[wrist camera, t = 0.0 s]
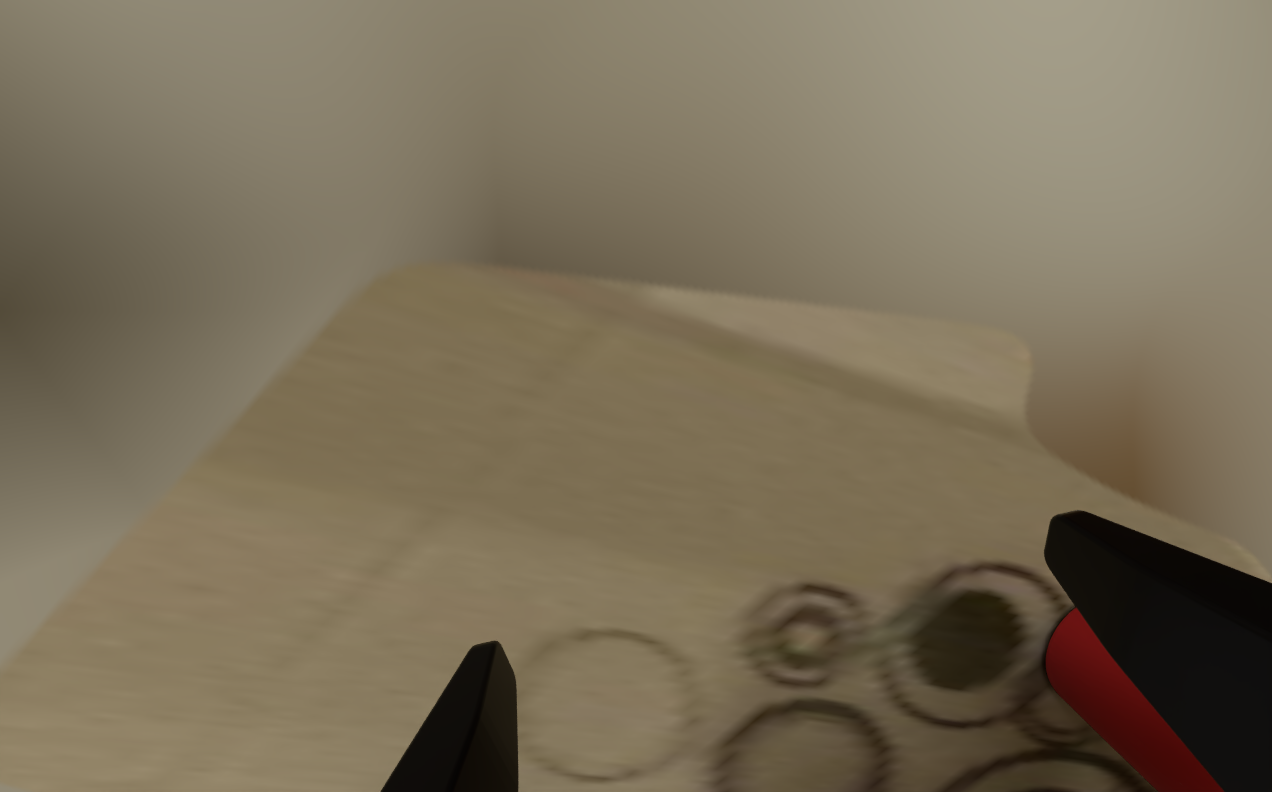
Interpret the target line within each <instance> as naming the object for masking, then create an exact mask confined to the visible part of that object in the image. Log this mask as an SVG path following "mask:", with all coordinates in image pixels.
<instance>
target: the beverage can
mask: <svg viewBox="0 0 1272 792" xmlns="http://www.w3.org/2000/svg"><path fill="white" fill-rule="evenodd" d="M1046 671H1047V675H1048V679H1049V681H1050V683H1051V685H1052V687H1053V688H1054V690H1055V691H1056V692H1057V693H1058V694H1059V696H1060V697H1061V698H1063V699H1064V700H1065V701H1066V702H1067V703H1068V704H1069V705H1070V706H1071V707H1072V708H1073V709H1074V710H1075V711H1076V712H1077V713H1078V714H1079V715H1080V716H1081V717H1082V718H1083V719H1084V720H1085V721H1086V722H1087V723H1088V724H1089V725H1090V726H1091V727H1092V728H1093V729H1094V730H1095V731H1096V732H1097V733H1098V734H1099V735H1100V736H1101V737H1102V738H1103V739H1104V740H1105V741H1106V742H1107V743H1108V744H1109V745H1110V746H1112V747H1113V748H1114V749H1115V750H1116V751H1117V752H1118V753H1119V754H1120V755H1121V756H1122V757H1123V758H1124V759H1125V760H1126V761H1127V762H1128V763H1129V764H1130V765H1131V766H1132V767H1133V768H1134V769H1135V770H1136V771H1138V772H1139V773H1140V774H1141V775H1142V776H1143V777H1144V778H1145V779H1146V780H1147V781H1148V782H1149V783H1150V784H1151V785H1152V786H1153V787H1154V788H1155V789H1156V790H1157V791H1158V792H1224V791H1223V790H1222V789H1221V787H1220V786H1219V785H1218V784H1217V783H1216V781H1215V780H1214V779H1213V778H1212V777H1211V775H1210V774H1209V773H1208V772H1207V771H1206V769H1205V768H1204V767H1203V766H1202V765H1201V764H1200V762H1199V761H1198V760H1197V759H1196V758H1195V756H1194V755H1193V754H1192V753H1191V752H1190V750H1189V749H1188V748H1187V747H1186V746H1185V744H1184V743H1183V742H1182V741H1181V740H1180V739H1179V737H1178V736H1177V735H1176V734H1175V733H1174V731H1173V730H1172V729H1171V728H1170V727H1169V725H1168V724H1167V723H1166V722H1165V721H1164V719H1163V718H1162V717H1161V716H1160V715H1159V714H1158V712H1157V711H1156V710H1155V709H1154V708H1153V706H1152V705H1151V704H1150V703H1149V702H1148V700H1147V699H1146V698H1145V697H1144V696H1143V694H1142V693H1141V692H1140V691H1139V690H1138V689H1137V687H1136V686H1135V685H1134V684H1133V683H1132V681H1131V680H1130V679H1129V678H1128V677H1127V675H1126V674H1125V673H1124V672H1123V671H1122V669H1121V668H1120V667H1119V666H1118V664H1117V663H1116V662H1115V661H1114V659H1113V658H1112V657H1111V656H1110V654H1109V653H1108V652H1107V650H1106V649H1105V648H1104V646H1103V645H1102V644H1101V642H1100V641H1099V639H1098V638H1097V637H1096V635H1095V634H1094V632H1093V631H1092V629H1091V628H1090V626H1089V625H1088V624H1087V622H1086V621H1085V619H1084V618H1083V616H1082V615H1081V614H1080V612H1079V611H1078V609H1077V608H1074V609H1073V610H1072V611H1071V612H1070V613H1069V614H1068V615H1067V616H1066V617H1065V618H1064V619H1063V620H1062V621H1061V623H1060V624H1059V625H1058V627H1057V628H1056V630H1055V631H1054V633H1053V635H1052V637H1051V639H1050V642H1049V645H1048V648H1047V653H1046Z"/></svg>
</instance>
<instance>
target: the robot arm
mask: <svg viewBox="0 0 1272 792" xmlns="http://www.w3.org/2000/svg"><path fill="white" fill-rule="evenodd" d="M1044 557H1045V561H1046V563H1047V565H1048V567H1049V569H1050V570H1051V572H1052V573H1053V575H1054V576H1055V578H1056V579H1057V581H1058V582H1059V583H1060V585H1061V586H1062V588H1063V589H1064V591H1065V592H1066V593H1067V595H1068V596H1069V598H1070V599H1071V601H1072V602H1073V604H1074V605H1075V606H1076V608H1077V609H1078V611H1079V612H1080V614H1081V615H1082V616H1083V618H1084V619H1085V621H1086V622H1087V624H1088V625H1089V626H1090V628H1091V629H1092V631H1093V632H1094V634H1095V635H1096V637H1097V638H1098V639H1099V641H1100V642H1101V644H1102V645H1103V646H1104V648H1105V649H1106V650H1107V652H1108V653H1109V654H1110V656H1111V657H1112V658H1113V659H1114V661H1115V662H1116V663H1117V664H1118V666H1119V667H1120V668H1121V669H1122V671H1123V672H1124V673H1125V674H1126V675H1127V677H1128V678H1129V679H1130V680H1131V681H1132V683H1133V684H1134V685H1135V686H1136V687H1137V689H1138V690H1139V691H1140V692H1141V693H1142V694H1143V696H1144V697H1145V698H1146V699H1147V700H1148V702H1149V703H1150V704H1151V705H1152V706H1153V708H1154V709H1155V710H1156V711H1157V712H1158V714H1159V715H1160V716H1161V717H1162V718H1163V719H1164V721H1165V722H1166V723H1167V724H1168V725H1169V727H1170V728H1171V729H1172V730H1173V731H1174V733H1175V734H1176V735H1177V736H1178V737H1179V739H1180V740H1181V741H1182V742H1183V743H1184V744H1185V746H1186V747H1187V748H1188V749H1189V750H1190V752H1191V753H1192V754H1193V755H1194V756H1195V758H1196V759H1197V760H1198V761H1199V762H1200V764H1201V765H1202V766H1203V767H1204V768H1205V769H1206V771H1207V772H1208V773H1209V774H1210V775H1211V777H1212V778H1213V779H1214V780H1215V781H1216V783H1217V784H1218V785H1219V786H1220V787H1221V789H1222V790H1223V791H1224V792H1272V583H1270V582H1267V581H1265V580H1262V579H1260V578H1257V577H1254V576H1252V575H1249V574H1247V573H1244V572H1241V571H1239V570H1236V569H1234V568H1231V567H1228V566H1226V565H1223V564H1221V563H1218V562H1215V561H1213V560H1210V559H1208V558H1205V557H1203V556H1200V555H1197V554H1195V553H1192V552H1190V551H1187V550H1184V549H1182V548H1179V547H1177V546H1174V545H1171V544H1169V543H1166V542H1164V541H1161V540H1158V539H1156V538H1153V537H1151V536H1148V535H1146V534H1143V533H1140V532H1138V531H1135V530H1133V529H1130V528H1127V527H1125V526H1122V525H1120V524H1117V523H1114V522H1112V521H1109V520H1107V519H1104V518H1101V517H1099V516H1096V515H1094V514H1091V513H1088V512H1085V511H1081V510H1077V511H1071V512H1067V513H1062V514H1058V515H1055V516H1054V517H1053V518H1052V519H1051V521H1050V525H1049V529H1048V534H1047V539H1046V544H1045V549H1044ZM381 792H518V736H517V690H516V679H515V675H514V672H513V669H512V667H511V665H510V663H509V661H508V659H507V656H506V654H505V652H504V650H503V648H502V646H501V644H500V643H499V642H498V641H490V642H486V643H481V644H477V645H474V646H473V647H472V648H471V649H470V650H469V651H468V653H467V655H466V656H465V658H464V659H463V661H462V663H461V664H460V666H459V667H458V669H457V671H456V672H455V674H454V675H453V677H452V678H451V680H450V682H449V683H448V685H447V686H446V688H445V690H444V691H443V693H442V694H441V696H440V698H439V699H438V701H437V702H436V704H435V706H434V707H433V709H432V710H431V712H430V713H429V715H428V717H427V718H426V720H425V721H424V723H423V725H422V726H421V728H420V729H419V731H418V733H417V734H416V736H415V737H414V739H413V741H412V742H411V744H410V745H409V747H408V749H407V750H406V752H405V753H404V755H403V756H402V758H401V760H400V761H399V763H398V764H397V766H396V768H395V769H394V771H393V772H392V774H391V776H390V777H389V779H388V780H387V782H386V784H385V785H384V787H383V788H382V790H381Z"/></svg>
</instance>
